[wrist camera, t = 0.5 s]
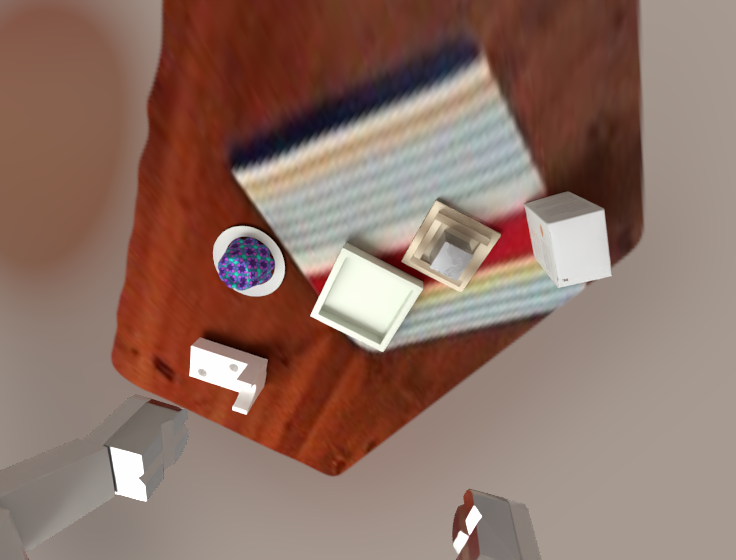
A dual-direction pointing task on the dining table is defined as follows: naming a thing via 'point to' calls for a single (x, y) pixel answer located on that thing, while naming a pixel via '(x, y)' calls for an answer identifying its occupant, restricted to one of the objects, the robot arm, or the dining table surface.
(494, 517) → the robot arm
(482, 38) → the dining table surface
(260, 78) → the dining table surface
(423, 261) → the socket holder
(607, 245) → the small box
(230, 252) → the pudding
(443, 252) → the gray block
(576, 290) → the dining table surface
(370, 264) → the tray
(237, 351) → the bracket
